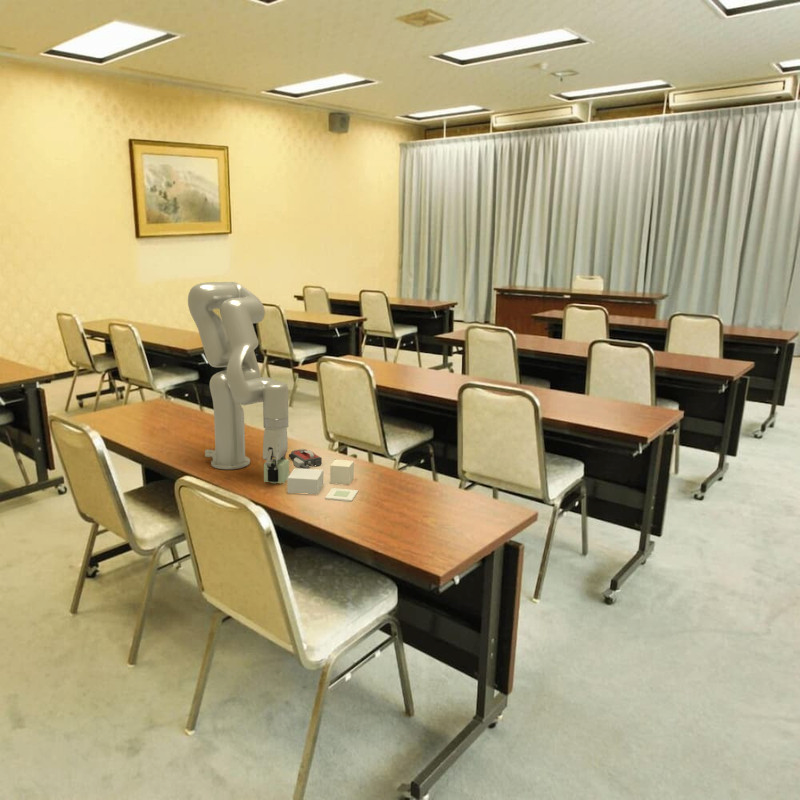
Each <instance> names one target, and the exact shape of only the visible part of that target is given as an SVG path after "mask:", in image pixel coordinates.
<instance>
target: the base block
mask: <svg viewBox="0 0 800 800" xmlns="http://www.w3.org/2000/svg"><path fill="white" fill-rule="evenodd" d="M286 482H287V484H286V486H287V494H293V493H308V494H307V495H310V494H318V495H319V493H320V491H321V490H322V488H321V487H323V486H322V485H324V469H315V468H309V469H303V468H298V467H295V468H293V470H291V472H290V473H289V476H288V478H287V480H286Z"/></svg>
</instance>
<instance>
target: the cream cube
mask: <svg viewBox="0 0 800 800" xmlns="http://www.w3.org/2000/svg"><path fill="white" fill-rule="evenodd" d="M329 467H330V470H329V471H330V473H329V475H330V478H329V480H330V483H337V484H336V485H341V484H348V485H347V486H350V485H349V484H351V483H352V482H351V481H353V480H354V479H353V478H355V475H354V474H355V473H354V471H355V470H354V469H355V468H354V467H355V461H354V460H348V459H335V460H333V462H332V463H330V466H329Z"/></svg>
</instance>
